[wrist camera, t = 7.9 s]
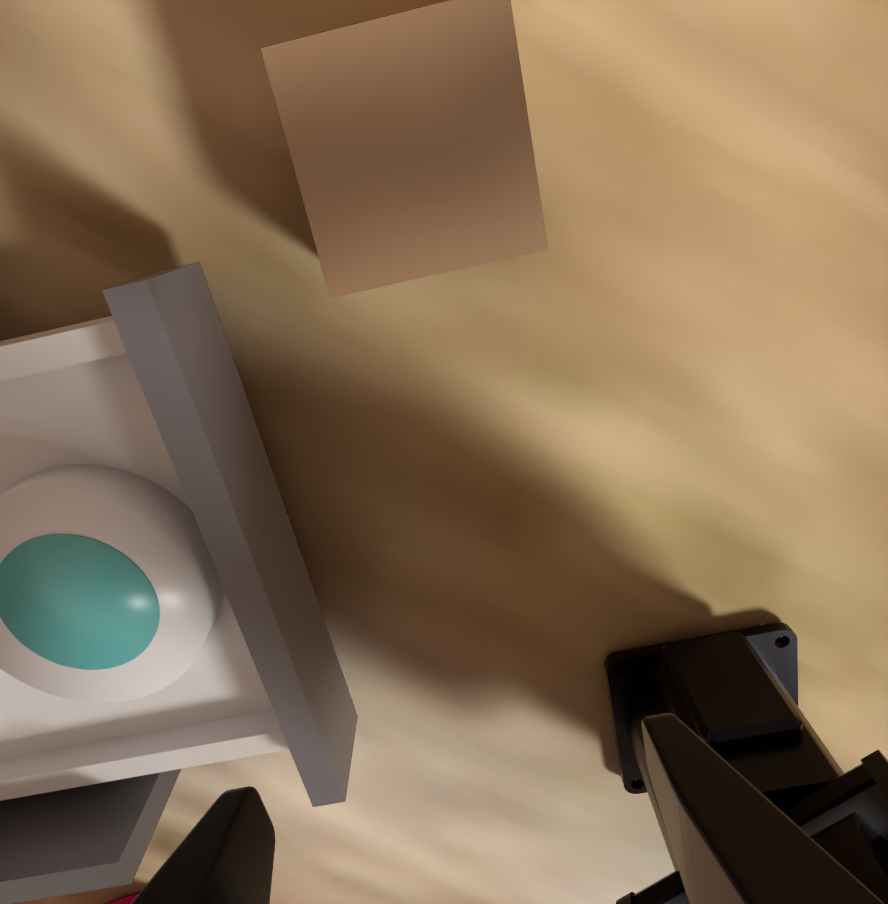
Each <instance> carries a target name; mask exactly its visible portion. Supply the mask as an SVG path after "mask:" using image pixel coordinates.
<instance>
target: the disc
mask: <svg viewBox="0 0 888 904" xmlns="http://www.w3.org/2000/svg"><path fill="white" fill-rule="evenodd" d="M223 595H224V588H223V586H222V583H221V581H220V578H219V576H218V573H217V571H216V568H215V566H214V564H213V561H212V559H211V556H210V554H209V551H208V549H207V546H206V544H205V542H204V539H203V537H202V534H201V532H200V529H199V527H198V524H197V522H196V520H195V517H194V515H193V512H192V510H191V509H190V508H189V507H187V506H186V505H185V504H184V503H183V502H182V501H181V500H180V499H178V498H177V497H176V496H174V495H173V494H172V493H171V492H169V491H168V490H166V489H164V488H163V487H161V486H159V485H158V484H156V483H154V482H152V481H150V480H148V479H146V478H144V477H142V476H139V475H137V474H134V473H131V472H128V471H125V470H122V469H118V468H113V467H108V466H103V465H93V464H69V465H62V466H55V467H52V468H48V469H44V470H41V471H38V472H36V473H34V474H31V475H29V476H27V477H25V478H24V479H22V480H20V481H19V482H17V483H16V484H14V485H13V486H11V487H10V488H8V489H7V490H6V491H4V492H3V493H1V494H0V669H2V670H3V671H4V672H6V673H8V674H9V675H11V676H12V677H14V678H16V679H17V680H19V681H21V682H23V683H25V684H27V685H29V686H31V687H33V688H35V689H38V690H41V691H43V692H46V693H48V694H52V695H55V696H59V697H62V698H66V699H72V700H77V701H84V702H95V703H106V702H120V701H128V700H132V699H137V698H141V697H144V696H147V695H149V694H152V693H155V692H157V691H159V690H161V689H163V688H165V687H167V686H168V685H170V684H171V683H172V682H174V681H175V680H177V679H178V678H179V677H180V676H181V675H182V674H183V673H184V672H185V671H186V670H187V669H188V668H189V667H190V665H191V664H192V663H193V662H194V660H195V659H196V657H197V655H198V653H199V651H200V649H201V647H202V645H203V643H204V641H205V639H206V637H207V636H208V634H209V632H210V630H211V628H212V626H213V624H214V622H215V620H216V618H217V616H218V614H219V611H220V608H221V605H222V602H223Z"/></svg>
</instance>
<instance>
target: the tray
mask: <svg viewBox="0 0 888 904" xmlns="http://www.w3.org/2000/svg"><path fill="white" fill-rule="evenodd" d="M102 292H103V295H104V297H105V300H106V302H107V304H108V307H109V309H110V312H111V314H112V316H108V317H104V318H100V319H95V320H91V321H86V322H82V323H78V324H73V325H69V326H65V327H60V328H56V329H51V330H47V331H43V332H38V333H34V334H30V335H25V336H21V337H17V338H12V339H8V340H3V341H0V494H1V493H3V492H4V491H6V490H7V489H8V488H10V487H11V486H13V485H14V484H16V483H17V482H19V481H20V480H22V479H24V478H25V477H27V476H29V475H31V474H34V473H36V472H38V471H41V470H44V469H48V468H52V467H55V466H62V465H69V464H93V465H103V466H108V467H113V468H118V469H122V470H125V471H128V472H131V473H134V474H137V475H139V476H142V477H144V478H146V479H148V480H150V481H152V482H154V483H156V484H158V485H159V486H161V487H163V488H164V489H166V490H168V491H169V492H171V493H172V494H173V495H174V496H176V497H177V498H178V499H180V500H181V501H182V502H183V503H184V504H185V505H186V506H187V507H189V508H190V509H191V510H192V512H193V515H194V517H195V520H196V522H197V524H198V527H199V529H200V532H201V534H202V537H203V539H204V542H205V544H206V546H207V549H208V551H209V554H210V556H211V559H212V561H213V564H214V566H215V568H216V571H217V573H218V576H219V578H220V581H221V583H222V586H223V588H224V595H223V602H222V605H221V608H220V611H219V614H218V616H217V618H216V620H215V622H214V624H213V626H212V628H211V630H210V632H209V634H208V636H207V637H206V639H205V641H204V643H203V645H202V647H201V649H200V651H199V653H198V655H197V657H196V659H195V660H194V662H193V663H192V664H191V665H190V667H189V668H188V669H187V670H186V671H185V672H184V673H183V674H182V675H181V676H180V677H179V678H178V679H177V680H175V681H174V682H172V683H171V684H170V685H168V686H167V687H165V688H163V689H161V690H159V691H157V692H155V693H152V694H149V695H147V696H144V697H141V698H137V699H132V700H128V701H120V702H106V703H95V702H84V701H77V700H72V699H66V698H62V697H59V696H55V695H52V694H48V693H46V692H43V691H41V690H38V689H35V688H33V687H31V686H29V685H27V684H25V683H23V682H21V681H19V680H17V679H16V678H14V677H12V676H11V675H9V674H8V673H6V672H4V671H3V670H2V669H0V801H2V800H7V799H13V798H19V797H24V796H30V795H35V794H41V793H47V792H52V791H58V790H64V789H69V788H75V787H81V786H86V785H92V784H98V783H103V782H109V781H115V780H120V779H126V778H132V777H137V776H143V775H148V774H154V773H160V772H165V771H171V770H177V769H182V768H188V767H194V766H199V765H205V764H211V763H216V762H222V761H228V760H233V759H239V758H244V757H250V756H256V755H261V754H267V753H273V752H278V751H284V750H290V752H291V754H292V757H293V759H294V762H295V764H296V766H297V769H298V771H299V774H300V776H301V779H302V781H303V784H304V786H305V788H306V791H307V793H308V796H309V798H310V801H311V803H312V806H313V807H316V806H322V805H327V804H333V803H339V802H345V800H346V793H347V786H348V779H349V772H350V765H351V758H352V751H353V744H354V738H355V731H356V724H357V717H358V716H357V713H356V710H355V707H354V704H353V701H352V699H351V696H350V693H349V690H348V687H347V684H346V681H345V678H344V675H343V673H342V670H341V667H340V664H339V661H338V658H337V655H336V652H335V650H334V647H333V644H332V641H331V638H330V635H329V632H328V629H327V627H326V624H325V621H324V618H323V615H322V612H321V609H320V606H319V603H318V601H317V598H316V595H315V592H314V589H313V586H312V583H311V580H310V578H309V575H308V572H307V569H306V566H305V563H304V560H303V557H302V555H301V552H300V549H299V546H298V543H297V540H296V537H295V534H294V532H293V529H292V526H291V523H290V520H289V517H288V514H287V511H286V508H285V506H284V503H283V500H282V497H281V494H280V491H279V488H278V485H277V483H276V480H275V477H274V474H273V471H272V468H271V465H270V462H269V460H268V457H267V454H266V451H265V448H264V445H263V442H262V439H261V436H260V434H259V431H258V428H257V425H256V422H255V419H254V416H253V413H252V411H251V408H250V405H249V402H248V399H247V396H246V393H245V390H244V388H243V385H242V382H241V379H240V376H239V373H238V370H237V367H236V365H235V362H234V359H233V356H232V353H231V350H230V347H229V344H228V341H227V339H226V336H225V333H224V330H223V327H222V324H221V321H220V318H219V316H218V313H217V310H216V307H215V304H214V301H213V298H212V295H211V293H210V290H209V287H208V284H207V281H206V278H205V275H204V272H203V269H202V267H201V264H200V262H197V263H192V264H188V265H184V266H179V267H175V268H171V269H166V270H162V271H159V272H156V273H153V274H150V275H147V276H144V277H141V278H138V279H135V280H131V281H128V282H125V283H122V284H119V285H116V286H113V287H110V288H107V289H104V290H102Z"/></svg>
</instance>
